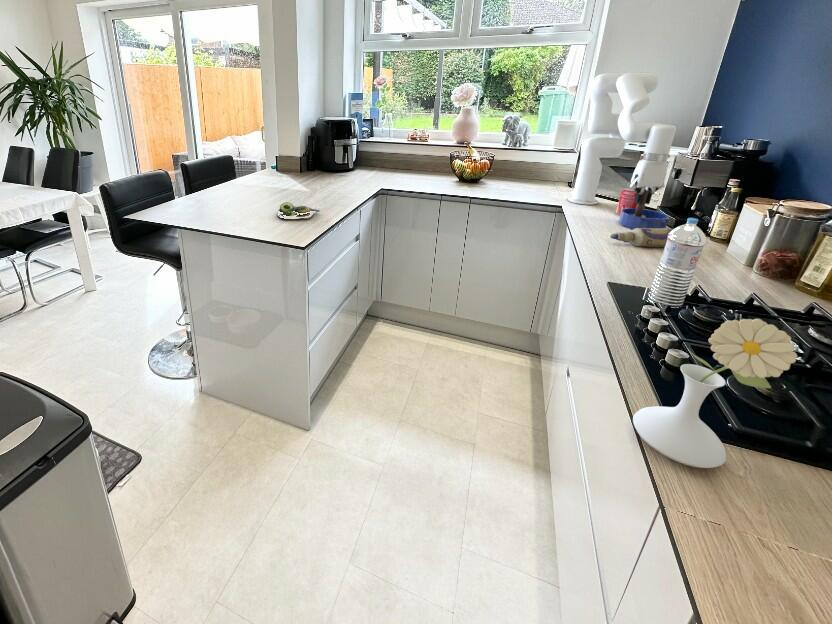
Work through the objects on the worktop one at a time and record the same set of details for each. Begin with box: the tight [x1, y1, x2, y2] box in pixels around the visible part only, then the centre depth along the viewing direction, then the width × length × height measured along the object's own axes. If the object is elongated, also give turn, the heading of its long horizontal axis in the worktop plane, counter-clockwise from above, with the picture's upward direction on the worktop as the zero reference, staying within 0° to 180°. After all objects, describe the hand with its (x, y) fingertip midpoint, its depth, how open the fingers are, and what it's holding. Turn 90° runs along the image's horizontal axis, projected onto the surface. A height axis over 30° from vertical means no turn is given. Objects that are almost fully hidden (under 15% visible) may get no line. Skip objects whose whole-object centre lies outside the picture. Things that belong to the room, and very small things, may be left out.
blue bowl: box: [618, 208, 670, 230], centre depth 164 cm, size 15×15×6 cm
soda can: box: [615, 187, 637, 217], centre depth 176 cm, size 7×7×12 cm
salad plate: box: [276, 201, 321, 220], centre depth 182 cm, size 19×18×5 cm
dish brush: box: [630, 188, 649, 218], centre depth 161 cm, size 5×5×15 cm
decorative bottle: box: [609, 227, 674, 248], centre depth 143 cm, size 26×8×7 cm, turn 82°
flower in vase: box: [632, 318, 798, 469], centre depth 59 cm, size 13×11×25 cm
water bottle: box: [646, 217, 707, 308], centre depth 98 cm, size 7×7×25 cm
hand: (641, 202), depth 161 cm, fingers closed on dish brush, 2 cm apart
